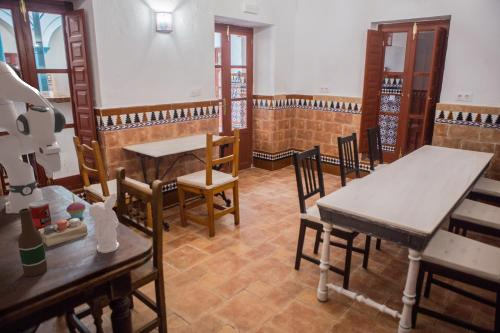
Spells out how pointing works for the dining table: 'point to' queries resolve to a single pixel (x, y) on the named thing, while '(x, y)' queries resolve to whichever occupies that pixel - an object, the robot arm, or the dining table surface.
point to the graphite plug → (49, 229)
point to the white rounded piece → (74, 222)
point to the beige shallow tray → (63, 234)
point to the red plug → (62, 224)
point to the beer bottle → (31, 246)
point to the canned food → (40, 213)
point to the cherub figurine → (105, 224)
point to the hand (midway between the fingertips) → (49, 177)
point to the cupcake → (76, 209)
